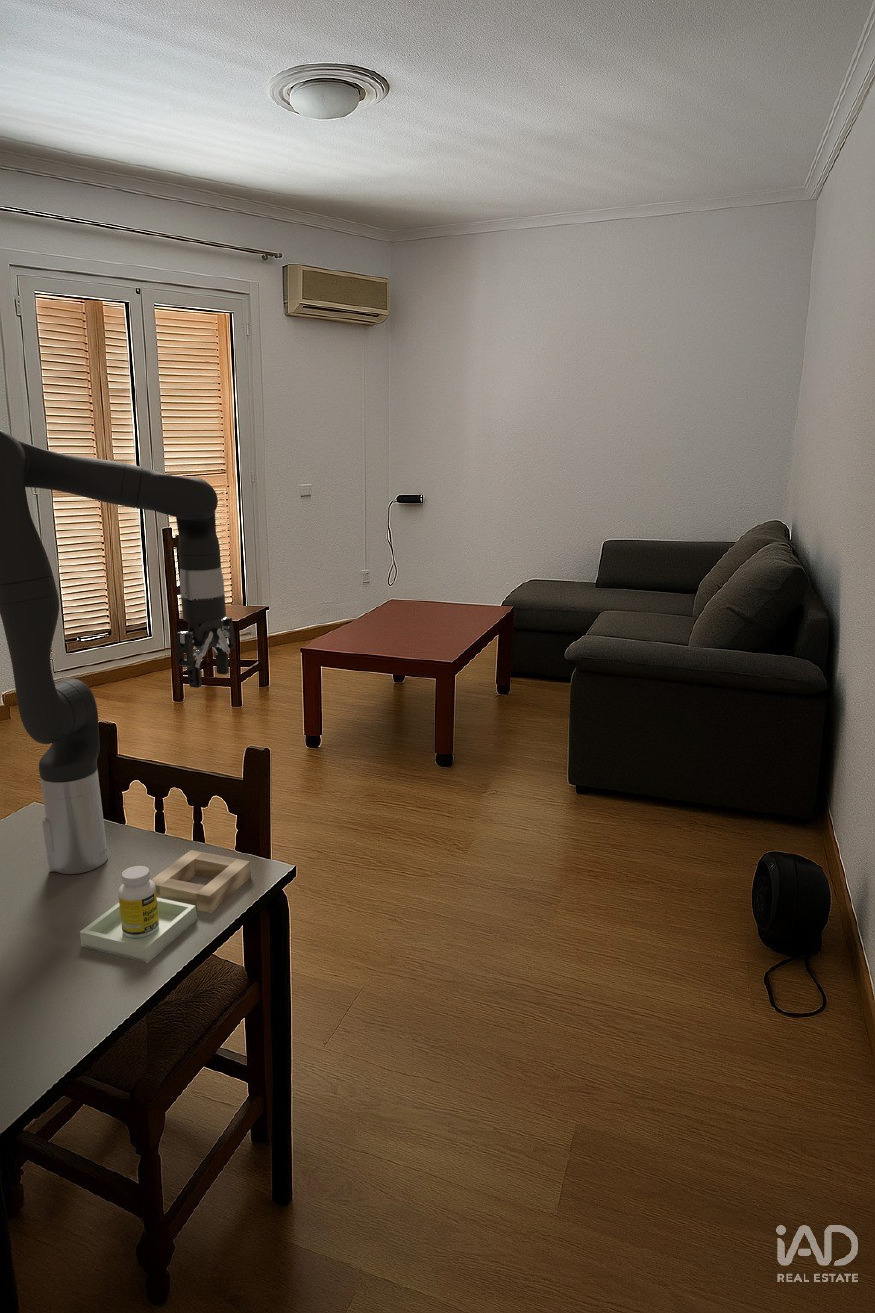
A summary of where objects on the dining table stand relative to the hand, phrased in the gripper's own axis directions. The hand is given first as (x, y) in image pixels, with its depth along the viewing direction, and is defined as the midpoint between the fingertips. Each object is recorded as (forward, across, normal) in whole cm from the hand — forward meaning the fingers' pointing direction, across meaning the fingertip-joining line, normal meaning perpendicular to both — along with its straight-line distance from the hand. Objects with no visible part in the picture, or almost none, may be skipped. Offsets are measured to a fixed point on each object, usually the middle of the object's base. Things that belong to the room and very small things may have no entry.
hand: (209, 680), depth 160 cm
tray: (+30, +34, +8) cm, 46 cm away
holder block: (+30, +19, +9) cm, 37 cm away
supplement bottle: (+30, +33, +8) cm, 45 cm away
